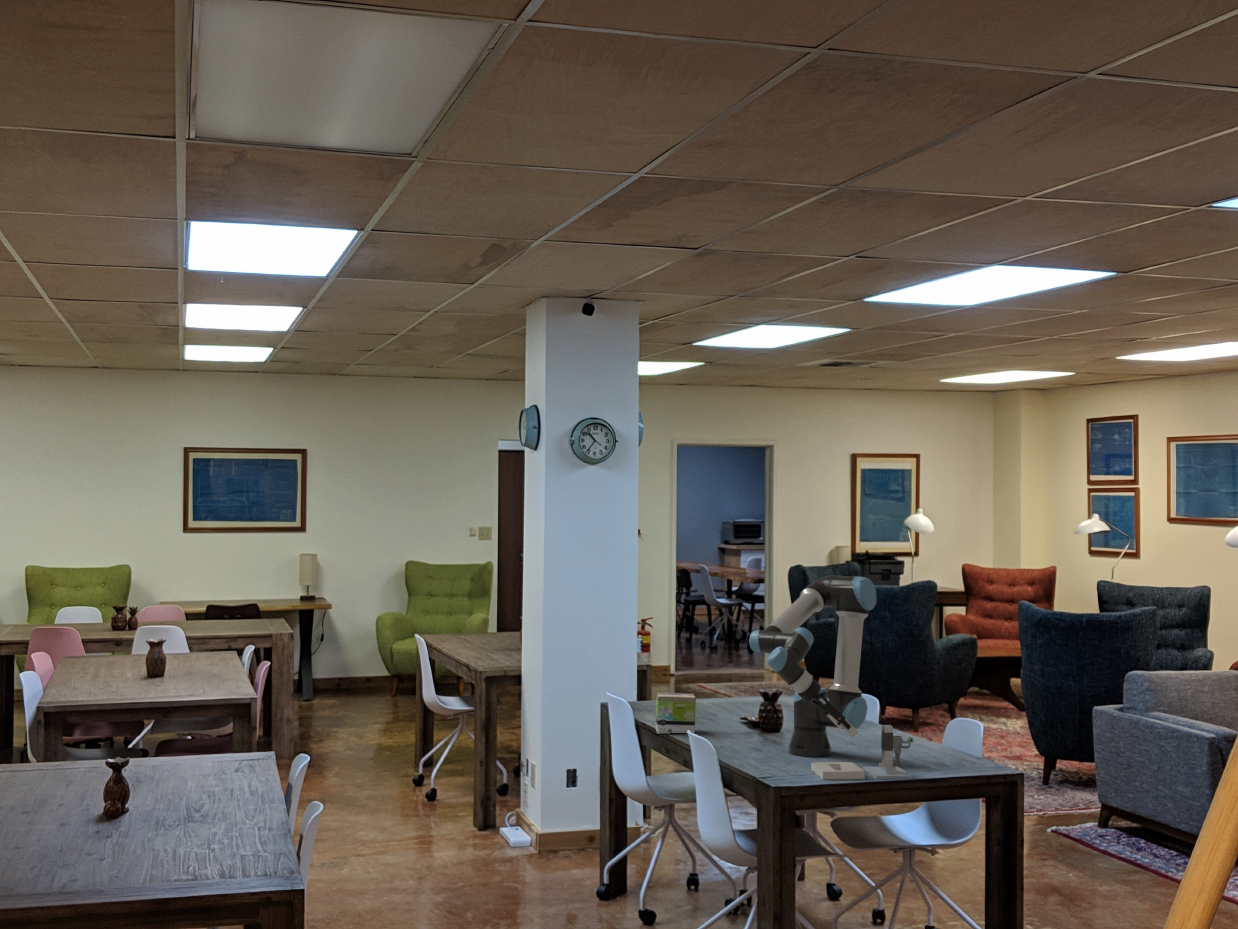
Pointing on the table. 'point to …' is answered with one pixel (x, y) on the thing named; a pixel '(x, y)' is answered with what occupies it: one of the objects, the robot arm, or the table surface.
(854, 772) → the block
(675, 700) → the tea box
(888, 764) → the t key
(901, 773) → the pad
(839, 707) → the robot arm
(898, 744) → the mechanical component
